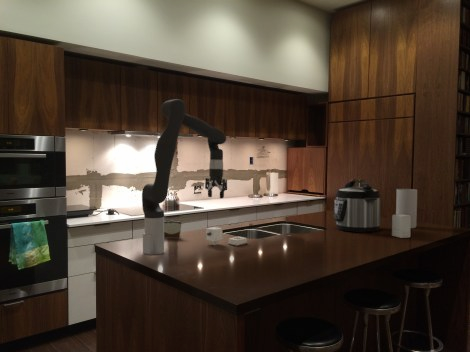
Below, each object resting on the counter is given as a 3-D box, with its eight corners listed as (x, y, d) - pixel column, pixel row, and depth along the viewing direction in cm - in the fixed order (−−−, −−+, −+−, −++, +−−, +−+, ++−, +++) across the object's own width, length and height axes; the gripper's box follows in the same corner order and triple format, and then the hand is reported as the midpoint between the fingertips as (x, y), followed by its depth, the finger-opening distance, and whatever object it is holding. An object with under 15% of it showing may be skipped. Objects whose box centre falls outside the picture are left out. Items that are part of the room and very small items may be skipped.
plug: (212, 246, 200) (212, 230, 199) (204, 245, 204) (204, 228, 203) (222, 244, 206) (222, 228, 205) (214, 242, 209) (214, 226, 209)
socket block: (237, 246, 202) (237, 240, 201) (228, 244, 205) (228, 238, 205) (246, 243, 208) (246, 237, 207) (238, 241, 211) (238, 236, 211)
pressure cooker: (336, 224, 269) (336, 178, 268) (379, 226, 260) (380, 179, 258) (331, 231, 241) (332, 180, 240) (380, 235, 232) (381, 182, 230)
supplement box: (410, 237, 226) (411, 215, 225) (400, 238, 223) (401, 216, 223) (401, 234, 233) (401, 213, 232) (391, 235, 230) (391, 214, 230)
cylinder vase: (391, 225, 264) (392, 189, 263) (406, 224, 268) (407, 188, 266) (404, 229, 252) (405, 190, 251) (420, 228, 256) (421, 190, 255)
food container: (184, 236, 226) (184, 219, 226) (182, 238, 220) (182, 220, 220) (163, 235, 228) (163, 218, 227) (160, 237, 221) (160, 220, 221)
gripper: (202, 167, 214) (201, 197, 215) (221, 168, 205) (220, 199, 206) (211, 167, 220) (211, 196, 221) (230, 168, 211) (230, 198, 211)
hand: (215, 197), depth 213 cm, fingers open, 8 cm apart
